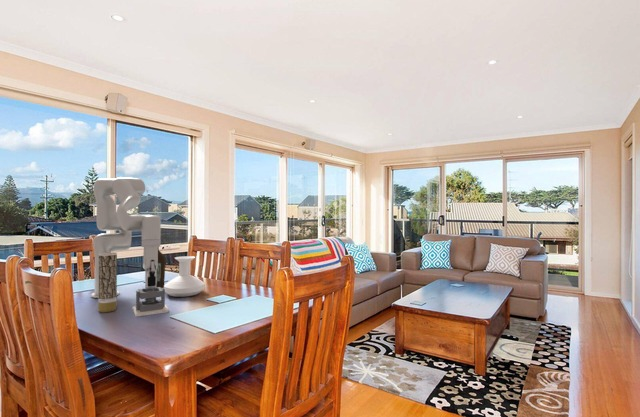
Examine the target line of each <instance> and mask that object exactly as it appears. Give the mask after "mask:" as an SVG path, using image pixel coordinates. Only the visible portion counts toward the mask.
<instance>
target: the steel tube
mask: <svg viewBox="0 0 640 417" xmlns="http://www.w3.org/2000/svg"><path fill="white" fill-rule="evenodd" d="M155 267H156V266H155ZM149 270H151V268H149ZM144 271H145V275H144V276H145V277H144V278H145V279H144V280H145V282H144V284H145V286H144V289H145V292H151V291H156V285H155V286H148V269H147V270H145V269H144ZM155 274H156V270H155ZM156 299H157V297H155V298H147V299H144V301H145V302H147V303H150V302H155V301H156Z"/></svg>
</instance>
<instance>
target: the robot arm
mask: <svg viewBox="0 0 640 417" xmlns="http://www.w3.org/2000/svg"><path fill="white" fill-rule="evenodd" d="M145 192H146V184H145V182H144V181H143V180H142V179H141V178H138V177H137V178H136V177H125V176H123V177H122V176H119V177H117V178H107V177H105V178H98V179H96V180H95V181H94V183H93V195H94V198H95V202H96V227H97V229H98V230H99V231H101V232H102V231H103V232H104V231H105V232H107V233H100V234H99V233H98V234H96V235H95V236H94V237H93V238H92V246H93V253H94V254H93V255H94V292H92V293H91V294H90V297H91V298H94V299H98V294H99V254H100V253H115V252H122V251H123V252H124V251H127V250H129V249H130V248H131V245H132V236H133V235H132V232H134V233H135V232H141V248H143V255H142V256H143V257H142V258H143V260H142V268H143V269H144V271H145V270H147V269H148V286H155V285H156V274H155V270H156V269H157V267H158V247H159V248H160V247H161V229H162V227H161V225H162V224H161V216H160V215H158V214H157V215H155V214H153V215H152V214H129V213H128V212H129V211H130V210H133V209H135V208H136V207H138V206H139V204H140V203H141V197H140V196H141V195H143V194H144V193H145ZM112 196H116V198H117V199H118V202H119V205H118V207H117V203H116V201H115V199H114V198H113V197H112ZM109 231H111V232H112V231H113V232H112V233H111V232H110V233H109ZM115 231H118V232H115ZM155 266H156V267H155ZM149 268H151V270H149ZM118 295H120V290H117V296H118Z"/></svg>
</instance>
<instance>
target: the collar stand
mask: <svg viewBox="0 0 640 417" xmlns="http://www.w3.org/2000/svg"><path fill="white" fill-rule="evenodd" d="M135 293H136V294H135V305H134V306H132V310H133V314H134V317H143V316H151V315H157V314H163V313H169V312H170V309H169V307H168V306H167V305H166V303H165V300H166V298H165V297H166V292H165V289H164V288H160V287H156V291H151V292H145V288H138V289H137V290H136V291H135ZM155 297H156V301H155V302H150V303H147V302H145V299H147V298H155ZM140 300H141V301H140Z"/></svg>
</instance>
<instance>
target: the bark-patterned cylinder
mask: <svg viewBox="0 0 640 417" xmlns="http://www.w3.org/2000/svg"><path fill="white" fill-rule="evenodd" d="M117 253H118V252H111V253H100V254H99V294H98V298H97V299H98V303H97V304H98V306H97V307H98V308H97V309H98V312H99V313H110V312H113V311H116V310H117V297H118V295H117V291H118V289H117V288H118V287H117V286H118V279H117V277H118V271H117V270H118V254H117Z"/></svg>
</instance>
